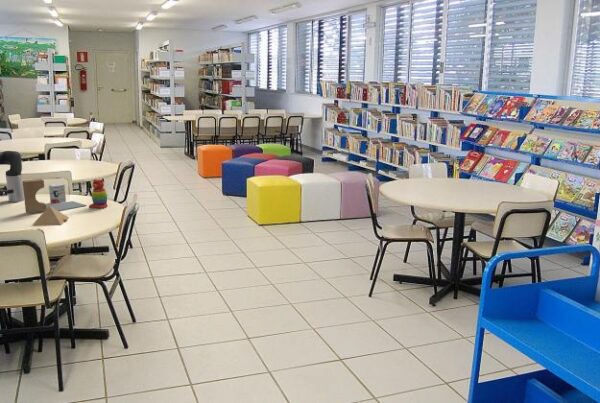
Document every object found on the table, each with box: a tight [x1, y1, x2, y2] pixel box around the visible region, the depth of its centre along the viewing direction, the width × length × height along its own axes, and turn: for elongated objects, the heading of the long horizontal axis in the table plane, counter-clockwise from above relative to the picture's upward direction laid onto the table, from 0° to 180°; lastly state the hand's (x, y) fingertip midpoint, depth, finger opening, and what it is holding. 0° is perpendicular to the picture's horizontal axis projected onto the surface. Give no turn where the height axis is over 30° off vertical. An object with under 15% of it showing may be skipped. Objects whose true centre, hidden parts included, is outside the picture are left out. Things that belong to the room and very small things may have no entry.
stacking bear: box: [88, 178, 108, 210], centre depth 359 cm, size 11×10×18 cm
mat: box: [46, 200, 87, 212], centre depth 360 cm, size 17×22×1 cm
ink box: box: [48, 183, 67, 205], centre depth 371 cm, size 9×5×12 cm, turn 136°
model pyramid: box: [31, 205, 70, 227], centre depth 325 cm, size 17×17×10 cm
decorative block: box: [22, 178, 47, 215], centre depth 345 cm, size 11×6×20 cm, turn 127°
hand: (10, 190), depth 333 cm, fingers open, 8 cm apart
